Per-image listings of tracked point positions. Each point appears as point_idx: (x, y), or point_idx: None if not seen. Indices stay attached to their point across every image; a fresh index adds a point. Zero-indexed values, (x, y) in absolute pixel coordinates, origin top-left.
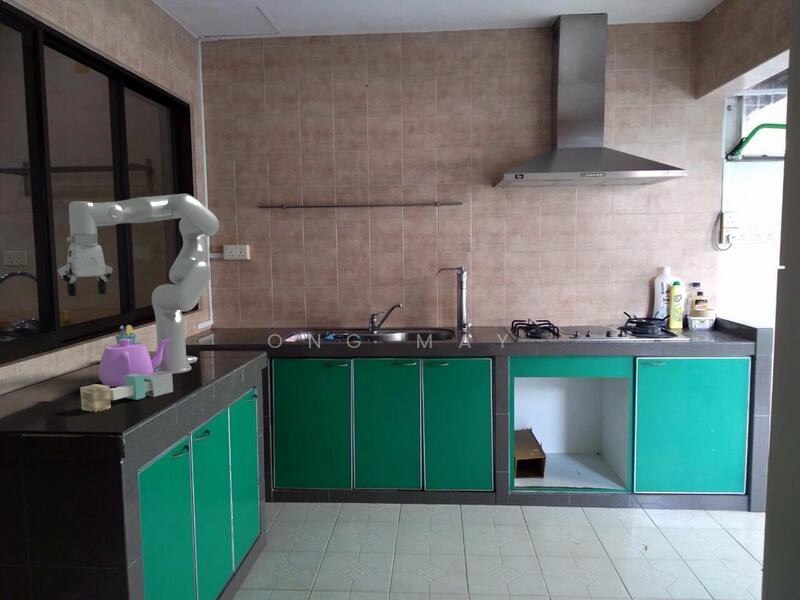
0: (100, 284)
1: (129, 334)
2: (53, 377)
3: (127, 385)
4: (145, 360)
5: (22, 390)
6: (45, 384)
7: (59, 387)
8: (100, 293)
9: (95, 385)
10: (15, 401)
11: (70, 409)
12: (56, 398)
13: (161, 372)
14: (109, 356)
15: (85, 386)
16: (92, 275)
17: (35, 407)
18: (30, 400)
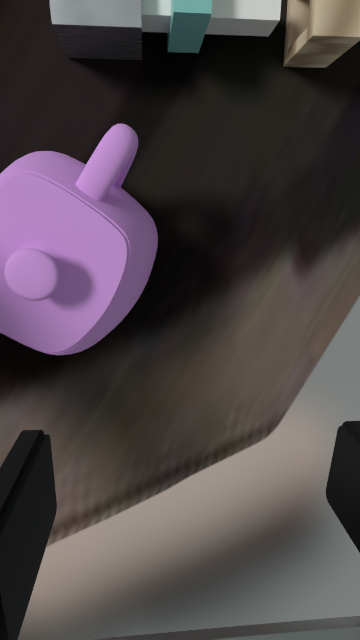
0: (17, 570)
1: None
2: (131, 498)
3: (213, 3)
4: (28, 154)
5: (246, 424)
6: (186, 440)
7: (191, 379)
8: (53, 481)
9: (329, 8)
10: (321, 328)
11: (332, 106)
12: (268, 267)
13: None
14: (138, 232)
15: (348, 32)
16: (254, 634)
17: (345, 222)
18: (303, 306)
